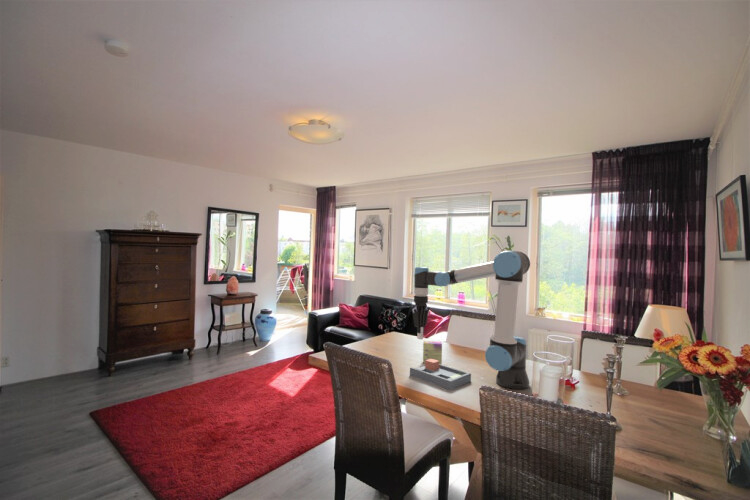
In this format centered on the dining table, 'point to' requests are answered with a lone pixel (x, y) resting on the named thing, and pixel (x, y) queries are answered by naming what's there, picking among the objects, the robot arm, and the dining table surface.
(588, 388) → the dining table surface
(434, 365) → the block
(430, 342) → the box
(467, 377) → the box
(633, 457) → the dining table surface
